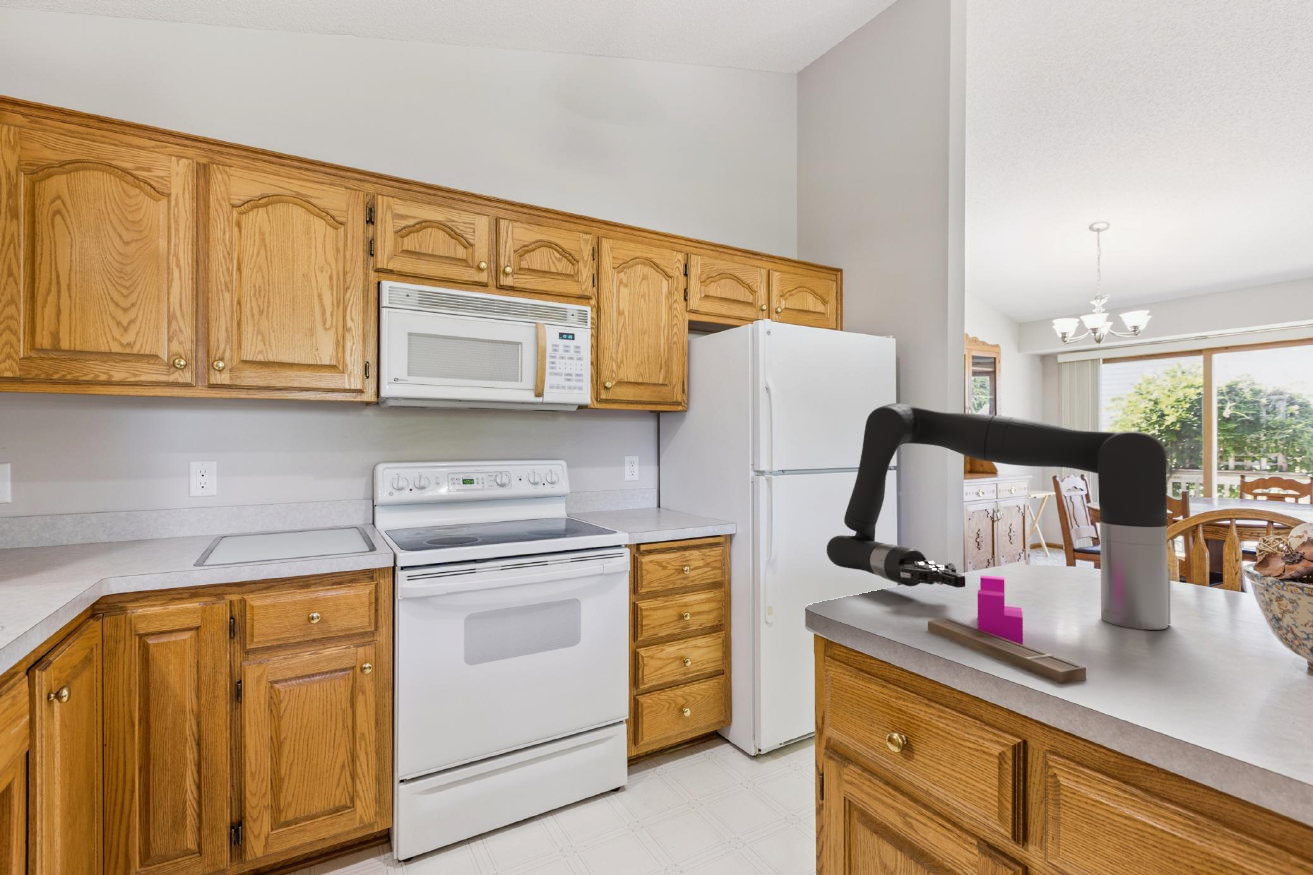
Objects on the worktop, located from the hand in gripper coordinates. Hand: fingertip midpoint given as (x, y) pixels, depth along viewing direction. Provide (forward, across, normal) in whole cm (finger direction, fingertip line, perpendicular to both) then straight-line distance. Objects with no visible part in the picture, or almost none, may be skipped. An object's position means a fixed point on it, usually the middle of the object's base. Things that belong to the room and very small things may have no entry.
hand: (962, 581), depth 114 cm
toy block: (+9, -1, +6) cm, 11 cm away
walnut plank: (+18, -10, +6) cm, 21 cm away
